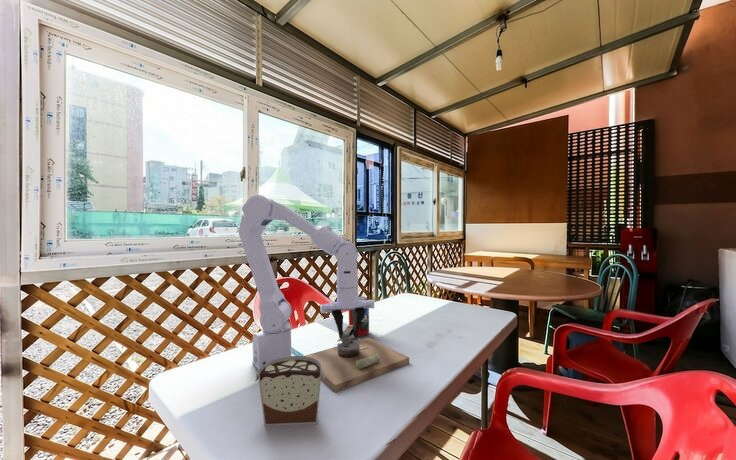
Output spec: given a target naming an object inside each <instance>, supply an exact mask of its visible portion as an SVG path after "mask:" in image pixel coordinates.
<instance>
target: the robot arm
mask: <svg viewBox="0 0 736 460" xmlns="http://www.w3.org/2000/svg"><path fill="white" fill-rule="evenodd" d="M274 220H276V221H283V222H286V224H287V223H288V224H289V225H291V226H293V227H294V228H295V229H297V230H299V231H301V232H302V233H304V234H306V235H307V236H309V238H310V241H311V244H312V245H314V246H316V247H317V248H319V249H321V250H322V251H323V252H325V253H327V254H328V255H330V256H335V258H336V259H335V260H336V262H337V264H336V265H337V269H336V301H334V302H329V303H322V304H320V305H319V306H320V308H319V309H320V313H321V314H326V313H331V315H332V317H333V319H334V322H335V324H336V329H337V332H338V338H339V339H342V333H343V332H344V329H343V325H344V324H343V323H344V315H343V312H344V311H349V310H352V314H353V335H354V337H355V338H357V337H359V336H358V331H359V327H360V324H361V321H362V319H363V317H364V315H365V311H364V308H369V309H375V301H374V300H373V299H367V300H358V296H359V274H358V273H359V271H358V270H359V269H358V268H357V267H358V262H357V260H358V258H359V253H358V249H357V247H356V245H355V244H354V243H353V242H351V241H349V240H347V237H345V236H343V237H342V236H341V235H339V234H338V233H336V232H335V231H333V228H332V227H331V226H329V225H328V226H326V225H319V226H318V225H314V223H312V222H311V221H309V220H307V218H305V217H303V216H302V215H300V214H299V213H298V212H296V211H295V210H293V209H291V208H290V207H288V206H286V205H284V204H282V203H280V202H277V201H275V200H274V199H271V198H268V197H266V196H264V195H262V194H261V195H260V194H255V195H252V196H250V197H249V198H248V199H247V200H246V201H245V203H244V204H243V205H242V207H241V218H240V222H239V226H238V227H239V229H238V236H239V239H240V242H241V244H242V249H243V251H244V254H245V257H246V260H247V263H248V266H249V268H250V272H251V274H252V278H253V281H254V283H255V286H256V289H257V293H258V295H259V302H258V309H259V311H260V316H259V322H260V323H259V324H260V326H261V328H262V330H260V331H258V332H256V333H255V332H254V333H253V335H252V361H251V362H252V365H254V366H255V368H256V369H257V371H258V370H259V368H261V367H262V366H263V365H265V364H266V363H268V362H270V361H273V360H275V359H278V358H282V357H288V356H292V353H291V347H292V324H291V323H290V321H289V319H290V317H291V315H292V313H293V309H292V305H291V304H290V303H289V302H288V301H287V299H286V298H285V295H284V293H283V292H282V291H281V289H280V288H279V285H278V281H277V278H276V276H275V273H274V269H273V267H272V264H271V261H270V258H269V254H268V252H267V249H266V247H265V244H264V243H265V242H264V241H263V236H262V234H263V233H264V231H265V229H266V228H267V226H268V225H269V224H270V223H271V222H272V221H273V222H274Z"/></svg>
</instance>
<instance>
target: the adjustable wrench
mask: <svg viewBox="0 0 736 460" xmlns="http://www.w3.org/2000/svg"><path fill="white" fill-rule="evenodd" d="M292 354H293V356H305V355H304V354H303V353H301V352H300V351H298V350H297V349H295V348H294V347H292V346H291V355H292Z"/></svg>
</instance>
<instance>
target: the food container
mask: <svg viewBox="0 0 736 460" xmlns="http://www.w3.org/2000/svg"><path fill="white" fill-rule="evenodd" d="M321 373H322V375H323V379H324V378H325V376H324V372H323V367H322V366H321V363H320V362H319V361H318V360H317V359H315V358H312V357H308V356H305V355H304V356H296V355H291V356H288V357H282V358H278V359H275V360H273V361H270V362H268V363H266V364H265V365H263V366H262V367H261V368H259V370H258V369H257V373H256V375H255V381H254V382H255V383H256V382H257V381H258V386H259V392H260V401H261V408H262V415H263V416H262V417H263V423H264V424H263V425H264V427H267V426H268V427H269V426H287V425H288V426H291V425H293V426H294V425H316V424H318V416H319V415H318V413H319V404H320V402H319V401H320V392H321V391H320V390H321V382H322V380H321Z"/></svg>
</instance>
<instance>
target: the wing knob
mask: <svg viewBox="0 0 736 460" xmlns="http://www.w3.org/2000/svg"><path fill="white" fill-rule="evenodd" d="M359 340H360V339H359V338H357V337H354V335H353V325H349V324H348V325H347V327H346V328H345V329H343V333H342V339H340V338H339V339H337V341H336V343H337V344H336V347H337V353H338V355H340V356H343V357H352V356H356V355H358V354H359V353H360V345H359Z"/></svg>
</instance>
